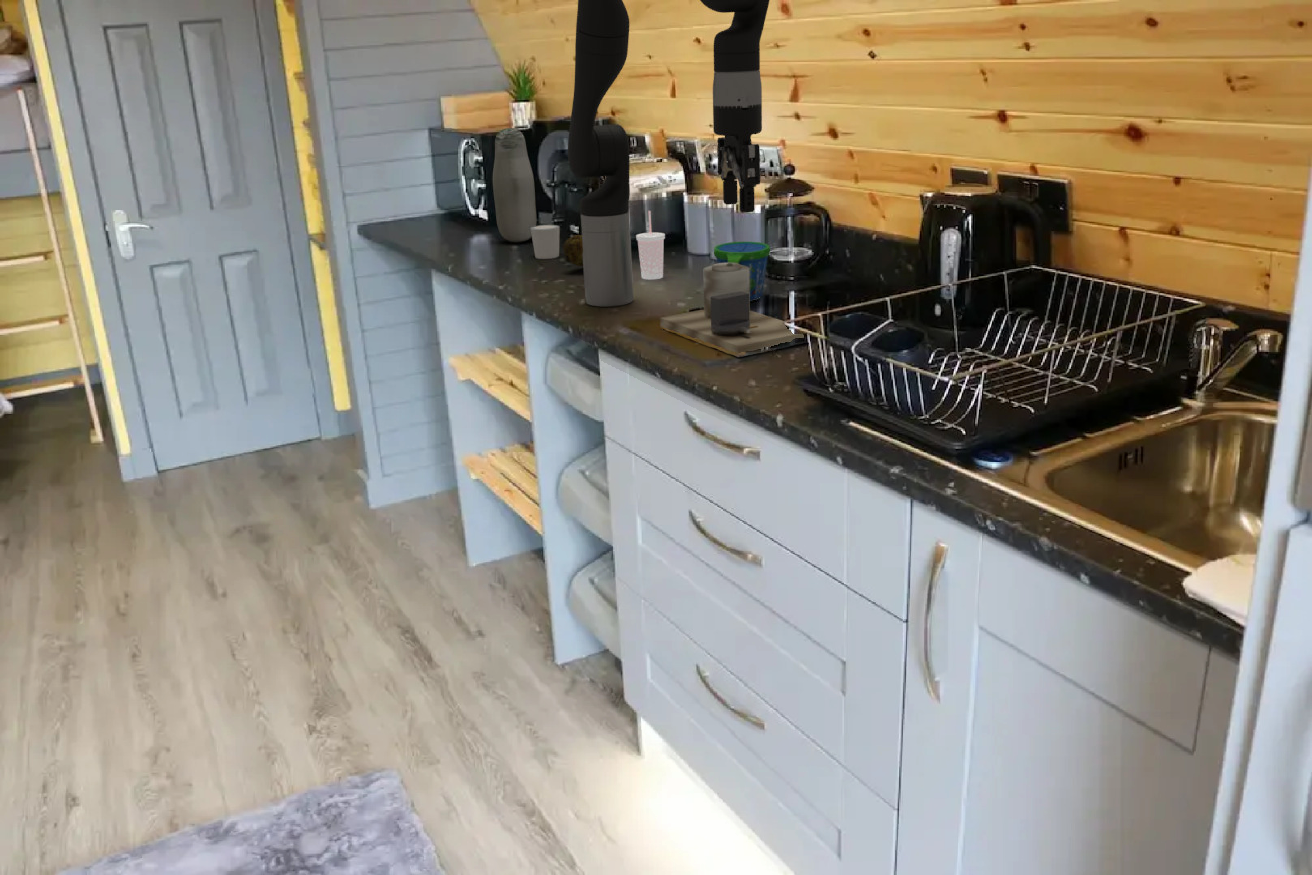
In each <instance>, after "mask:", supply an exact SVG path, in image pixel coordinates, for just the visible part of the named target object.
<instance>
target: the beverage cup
mask: <svg viewBox="0 0 1312 875" xmlns="http://www.w3.org/2000/svg"><path fill="white" fill-rule="evenodd" d="M647 211H648V232H643V233H638V234H636V235H635V238H636V241H637V246H638V256H639V264H640V274H641V279H643V280H659V279H662V278H664V240H665V239H666V234H665V233H664V232H653V231H652V211H651V210H647Z"/></svg>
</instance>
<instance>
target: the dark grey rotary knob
mask: <svg viewBox="0 0 1312 875" xmlns="http://www.w3.org/2000/svg"><path fill="white" fill-rule="evenodd" d="M711 332H712V333H715V334H719V335H740V334H744V333H751V329H750V320H749V294H748V293H745V292H741V291H740V292H734V293H729V294H723V295H718V296H712V297H711Z"/></svg>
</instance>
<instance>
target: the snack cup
mask: <svg viewBox="0 0 1312 875" xmlns="http://www.w3.org/2000/svg"><path fill="white" fill-rule="evenodd" d="M770 253H771V247H770V245H768V244H767V243H764V242H759V241H732V242H725V243H720V244H717V245H716V246H714V249H713V255H714V257H715V258H716V261H717V263H738V264H740V265H744V266H747V267H749V282H750V300H753V299H757V298H759V297H761V298H762V296H763V293H764V285H765V279H766V270H767V267H768V266H767V264H768V257H769V256H770Z"/></svg>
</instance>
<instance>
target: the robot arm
mask: <svg viewBox="0 0 1312 875" xmlns="http://www.w3.org/2000/svg"><path fill="white" fill-rule="evenodd" d="M699 1H700V2H701V4H703V5H704V6H705V7H707V9H709V10H712V11H714V12H717V13H725V14H726V13H733V17H732V21H731V24H730V26H729V28H726V29H724V30H722V31H719V32H718V33H717V34H715V36H714V39H713V79H712V80H713V82H712V113H713V114H712V117H713V118H712V119H713V120H712V122H713V125H712V126H713V127H712V128H713V133H714V134H715V135H718V136H722V137H718V138H717V171H716V172H717V175H718V176H720V179H721V181H722V193H723V194H722V195H723V196H722V198H723V200H722V202H723V203H724V204H725V205H729V206H730V205H736V204H737V203H738V202H739V211H740V212H741V213H742V214H743V213H744V214H745V213H753V212H754V211H755V188H756V187H757V185H761V163H760V160H761V158H760V154H761V153H760V144H758V143H757V144H753V143H752V138H751V137H752V135H757V134H758V135H759V134H760V133H761V132H762V129H763V113H762V111H763V109H762V108H763V107H762V106H763V103H762V102H763V100H762V99H763V98H762V97H763V94H762V93H763V92H762V78H761V66H760V65H761V64H760V63H761V50H760V48H761V47H760V43H761V42H760V41H761V37H762V34H763V31H764V28H765V27H764V26H765V21H766V18H767V14H768V9H769V6H770V5H769V4H770V0H699ZM575 27H576V28H575V50H574V51H575V53H574V54H575V56H574V57H575V58H574V60H575V61H574V85H573V86H574V88H573V98H572V108H571V115H570V123H569V130H568V139H567V140H568V142H567V159H568V164H569V168H570V169H569V170H571V173H572V174H573V176H575V177H576V178H581V179H585V178H587V179H588V178H589V179H590V178H597V177H598V178H599V177H601V178H602V177H605V179H604V182H603V183H602V185H601V186H600V187H598V188H597V189H596V190H594V191H593V192H591V193H589V194H587V195H585V196H584V197H582V198H581V199H580V202H579V210H580V223H581V235H582V242H583V267H582V269H583V283H584V284H583V285H584V298H585V302H586V304H587V305H589V306H594V307H595V306H596V307H617V306H624V305H627V304H630V303H632V302H634V286H633V285H634V284H633V280H634V279H633V264H632V262H633V261H632V245H631V244H632V241H631V228H630V226H631V225H630V206H629V203H630V197H631V196H630V195H631V194H630V193H631V191H630V190H631V188H630V186H631V185H630V162H631V161H630V159H631V158H630V145H629V144H630V143H629V138H628V134H627V133H626V130H625V128H624V127H623V126H622V125H619V124H615V123H614V124H601V125H595V120H596V116H597V113H598V110H599V107H600V105H601V102H602V100H603V98H604V97H605V95H607V93H608V91H609V89H610V88H611V87H612V86H613V83H614V82H615V81H616V79H617V78H618V76H619V75H620V73H621V71H622V69H623V68H624V66H625V64H626V60H627V57H628V52H629V50H628V49H629V40H630V39H629V38H630V36H629V35H630V18H629V13H628V11H627V8H626V5H625V3H624V1H623V0H577V12H576V23H575ZM738 186H739V187H738ZM738 188H739V190H738ZM738 192H739V193H738ZM738 194H739V201H738Z"/></svg>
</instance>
